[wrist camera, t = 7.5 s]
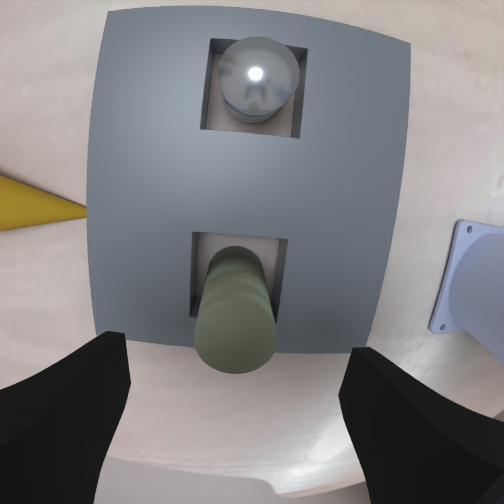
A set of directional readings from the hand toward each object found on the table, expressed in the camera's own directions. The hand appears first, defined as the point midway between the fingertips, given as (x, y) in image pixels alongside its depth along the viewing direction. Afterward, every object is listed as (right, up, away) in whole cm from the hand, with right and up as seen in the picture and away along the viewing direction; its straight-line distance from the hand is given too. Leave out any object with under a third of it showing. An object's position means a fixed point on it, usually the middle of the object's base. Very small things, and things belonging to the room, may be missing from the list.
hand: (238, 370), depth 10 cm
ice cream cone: (-17, +7, +6) cm, 20 cm away
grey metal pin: (0, +12, +6) cm, 13 cm away
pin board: (0, +7, +7) cm, 10 cm away
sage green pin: (-1, +3, +8) cm, 9 cm away
